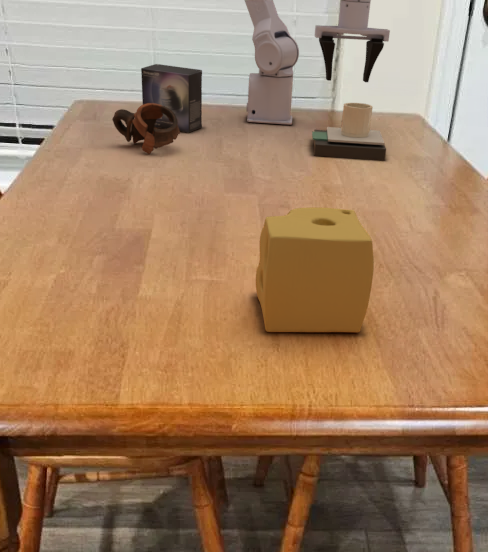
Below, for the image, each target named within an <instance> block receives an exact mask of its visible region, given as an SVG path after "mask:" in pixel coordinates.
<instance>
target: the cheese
mask: <svg viewBox="0 0 488 552" xmlns="http://www.w3.org/2000/svg"><path fill="white" fill-rule="evenodd" d="M371 237H372V236H371V235H370V234H369V232H368V231H367V230H366V228H365V227H364V226H363V225H362V223H361V221H360V219H359V217H358V215H357V212H356V210H354V209H344V208H334V207H333V208H332V207H323V206H322V207H319V206H316V207H298V208H297V207H296V208H293V209H290V211H288V212H287V213H286V214H284V215H270V216H266V217H265V219H264V224H263V227H262V229H261V232H260V235H259V262H258V265H257V267H256V271H255V290H256V296H257V299H258V301H259V304H260V307H261V313H262V318H263V323H264V330H265V331H266V332H267V333H360V331H361V329H362V326H363V324H364V320H365V318H366V315H367V311H368V307H369V304H370V298H371V291H372V285H373V279H374V270H375V269H374V267H375V259H374V257H375V256H374V247H373V246H374V243H373V240H372V238H371Z"/></svg>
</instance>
